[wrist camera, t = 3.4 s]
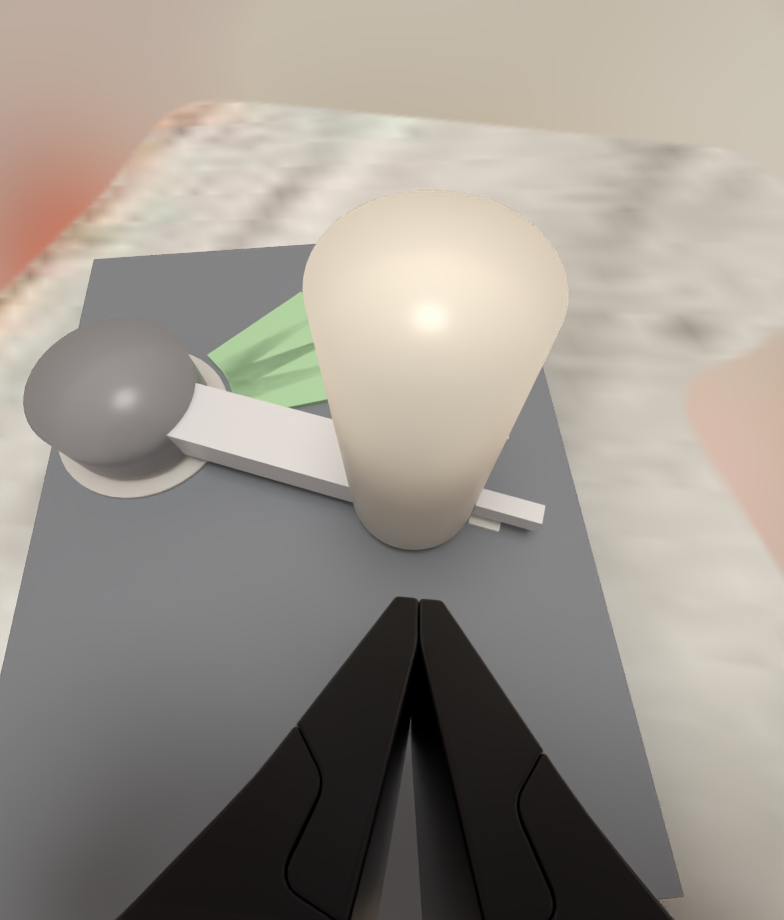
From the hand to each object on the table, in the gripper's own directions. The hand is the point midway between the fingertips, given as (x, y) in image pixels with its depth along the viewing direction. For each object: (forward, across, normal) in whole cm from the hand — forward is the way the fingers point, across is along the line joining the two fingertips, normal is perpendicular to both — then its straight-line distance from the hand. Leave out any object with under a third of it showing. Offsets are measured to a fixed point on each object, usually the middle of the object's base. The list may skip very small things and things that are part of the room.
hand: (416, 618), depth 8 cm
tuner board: (+8, +4, +2) cm, 9 cm away
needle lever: (+8, +4, 0) cm, 9 cm away
